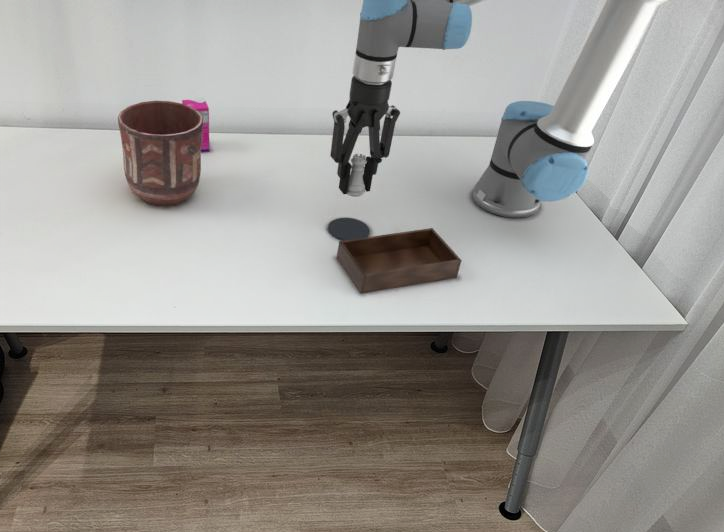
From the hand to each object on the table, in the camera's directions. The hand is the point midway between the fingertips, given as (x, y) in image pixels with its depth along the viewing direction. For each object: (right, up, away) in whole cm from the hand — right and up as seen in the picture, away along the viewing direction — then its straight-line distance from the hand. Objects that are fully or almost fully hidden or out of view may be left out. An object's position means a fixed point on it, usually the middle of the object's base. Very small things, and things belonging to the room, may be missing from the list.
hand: (354, 189), depth 151 cm
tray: (+8, -17, -3) cm, 19 cm away
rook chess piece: (0, -1, +1) cm, 1 cm away
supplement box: (-36, +17, +32) cm, 51 cm away
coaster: (0, -7, +7) cm, 10 cm away
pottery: (-41, +2, +15) cm, 44 cm away
